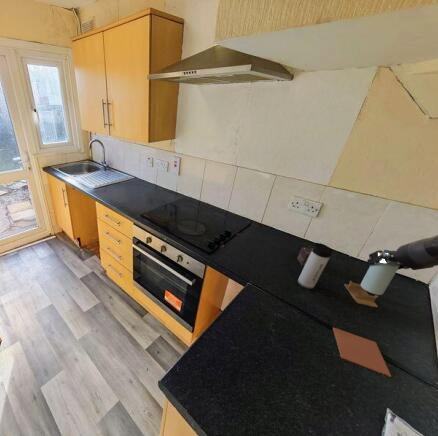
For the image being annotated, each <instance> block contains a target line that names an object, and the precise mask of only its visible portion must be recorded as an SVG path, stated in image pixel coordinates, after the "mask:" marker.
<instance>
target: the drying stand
mask: <svg viewBox="0 0 438 436" xmlns="http://www.w3.org/2000/svg"><path fill="white" fill-rule="evenodd" d="M343 285H344V287H345V288H346V290H347V291H348V292H349V294H350V295H351V297H352V298H353V300H354V301H355V302H356V303H357V304H360V305H364V306H368V307H372V308H373V307H374V308H378V307H379V306H378V305H377V303H376V302H375V301H377V299H378V298H379V295H377V294H374V295H371V294H369V292H368V291H366V290H365V289H363V288H362V287H361V283H356V282H353V281H352V280H349V284H348V283H344V284H343Z"/></svg>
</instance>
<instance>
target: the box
mask: <svg viewBox="0 0 438 436" xmlns="http://www.w3.org/2000/svg"><path fill="white" fill-rule="evenodd" d="M312 250H313V248H312V247H302V246H301V248H300V251H299V253H298V255H297V256H296V257H297V258H296V259H297V261H298V262H299V263H300V265H301V266H302V267H304V266H305V264H306V262H307V260H308V258H309V256H310V254H311V252H312Z"/></svg>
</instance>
